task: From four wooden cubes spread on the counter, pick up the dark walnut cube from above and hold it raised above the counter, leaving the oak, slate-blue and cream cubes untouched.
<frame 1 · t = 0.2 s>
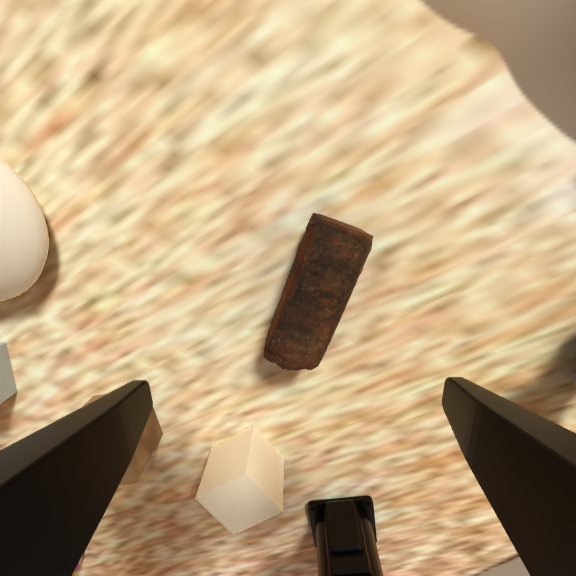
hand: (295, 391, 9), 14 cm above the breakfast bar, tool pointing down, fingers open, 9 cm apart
brick: (310, 284, 23), on the breakfast bar
cream cube: (248, 452, 28), on the breakfast bar
walnut cube: (129, 414, 27), on the breakfast bar
flower in vase: (1, 225, 22), on the breakfast bar
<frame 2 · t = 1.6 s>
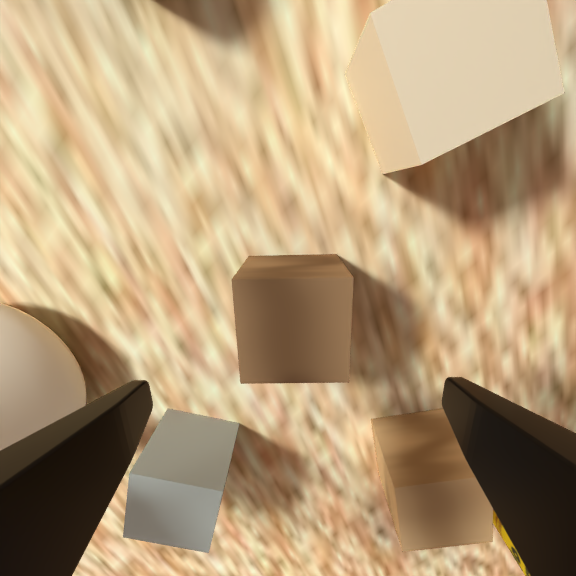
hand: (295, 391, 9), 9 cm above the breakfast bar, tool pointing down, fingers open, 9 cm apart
supplement bottle: (516, 472, 21), on the breakfast bar
oak cube: (410, 441, 21), on the breakfast bar
cream cube: (411, 101, 14), on the breakfast bar
walnut cube: (293, 296, 18), on the breakfast bar
flower in vase: (21, 358, 19), on the breakfast bar
slate blue cube: (199, 442, 21), on the breakfast bar
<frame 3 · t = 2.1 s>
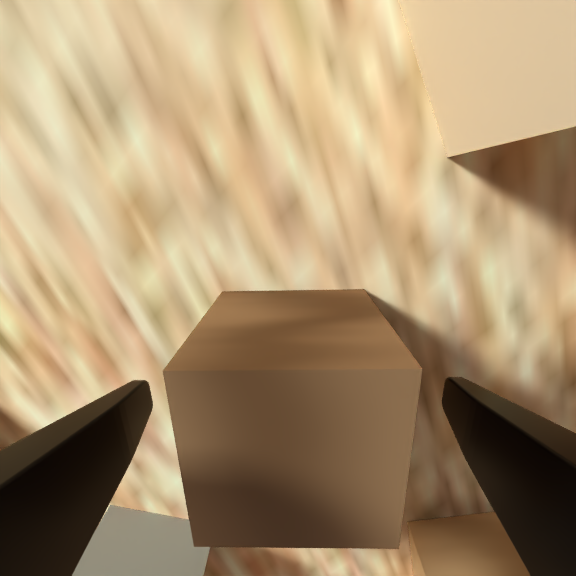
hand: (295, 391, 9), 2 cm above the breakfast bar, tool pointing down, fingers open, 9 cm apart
oak cube: (462, 549, 14), on the breakfast bar
cream cube: (507, 23, 8), on the breakfast bar
walnut cube: (294, 352, 11), on the breakfast bar
slate blue cube: (158, 547, 15), on the breakfast bar
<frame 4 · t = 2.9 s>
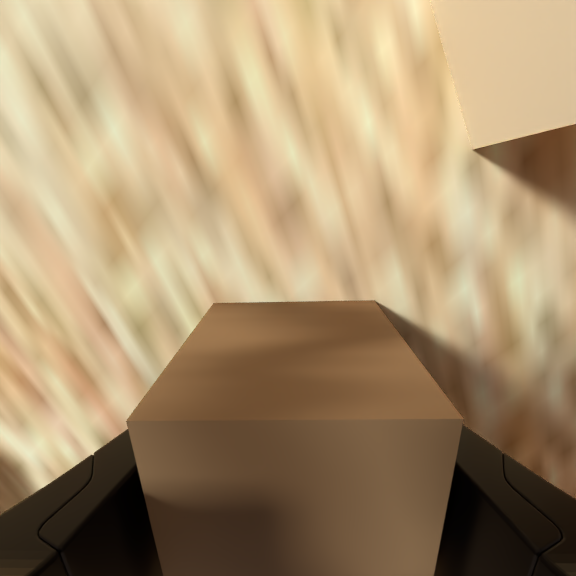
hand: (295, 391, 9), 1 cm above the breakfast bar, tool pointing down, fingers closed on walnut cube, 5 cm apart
walnut cube: (294, 371, 10), on the breakfast bar, touching gripper
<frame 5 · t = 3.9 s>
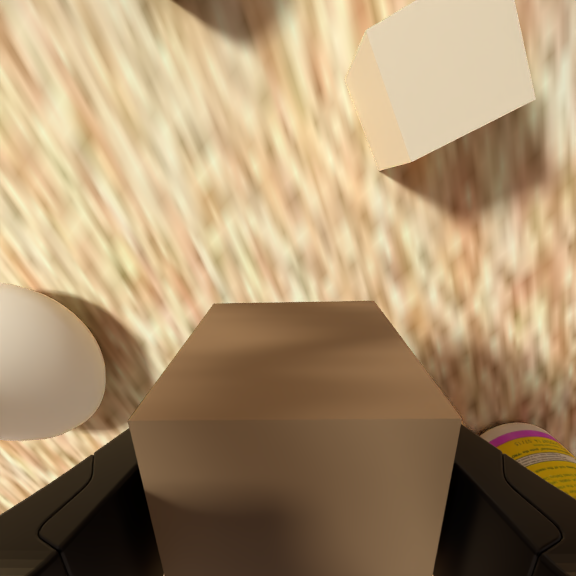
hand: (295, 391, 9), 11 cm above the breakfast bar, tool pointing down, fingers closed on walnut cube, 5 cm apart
supplement bottle: (504, 450, 23), on the breakfast bar
cream cube: (405, 104, 16), on the breakfast bar
walnut cube: (294, 371, 10), point 9 cm above the breakfast bar, touching gripper
flower in vase: (44, 341, 21), on the breakfast bar
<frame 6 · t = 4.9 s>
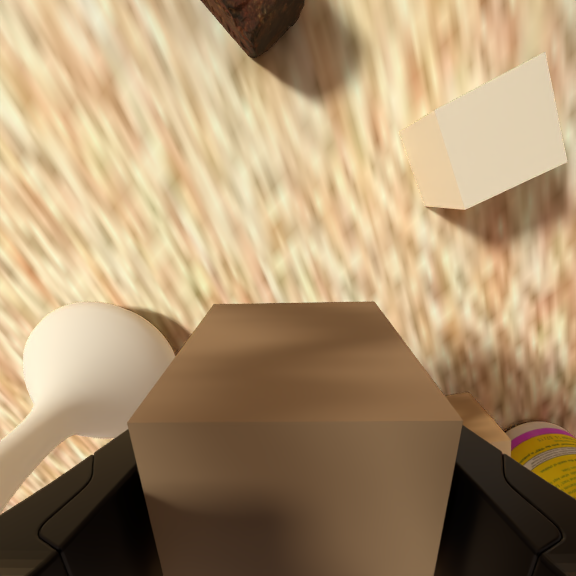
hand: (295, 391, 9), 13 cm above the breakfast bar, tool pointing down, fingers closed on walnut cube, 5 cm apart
supplement bottle: (525, 446, 26), on the breakfast bar
oak cube: (438, 420, 25), on the breakfast bar
cream cube: (449, 151, 19), on the breakfast bar
walnut cube: (294, 372, 10), point 12 cm above the breakfast bar, touching gripper
flower in vase: (122, 351, 24), on the breakfast bar
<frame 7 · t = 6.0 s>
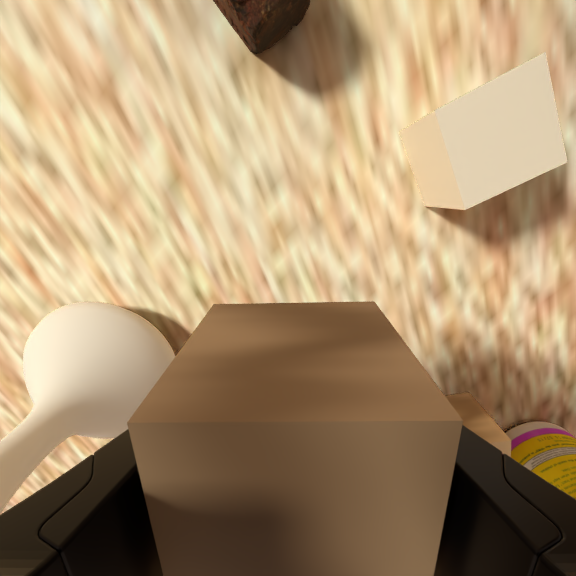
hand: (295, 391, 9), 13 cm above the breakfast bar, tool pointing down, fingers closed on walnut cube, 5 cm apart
supplement bottle: (525, 446, 26), on the breakfast bar
oak cube: (438, 420, 25), on the breakfast bar
cream cube: (449, 151, 19), on the breakfast bar
walnut cube: (294, 372, 10), point 12 cm above the breakfast bar, touching gripper
flower in vase: (122, 351, 24), on the breakfast bar
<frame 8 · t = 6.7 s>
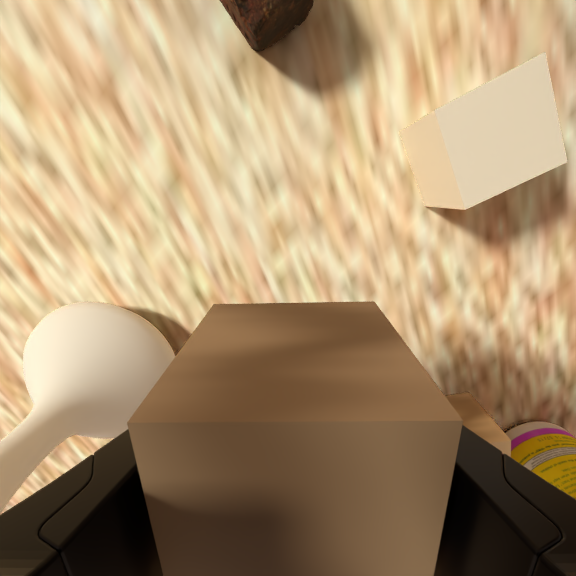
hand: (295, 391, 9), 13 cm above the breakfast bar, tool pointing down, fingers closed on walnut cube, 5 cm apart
supplement bottle: (525, 446, 26), on the breakfast bar
oak cube: (438, 420, 25), on the breakfast bar
cream cube: (449, 151, 19), on the breakfast bar
walnut cube: (294, 372, 10), point 12 cm above the breakfast bar, touching gripper
flower in vase: (122, 351, 24), on the breakfast bar
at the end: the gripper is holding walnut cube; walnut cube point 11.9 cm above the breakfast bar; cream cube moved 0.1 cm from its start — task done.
